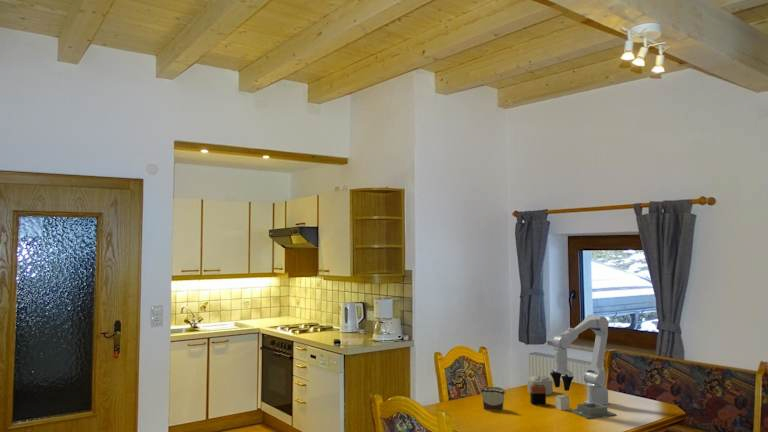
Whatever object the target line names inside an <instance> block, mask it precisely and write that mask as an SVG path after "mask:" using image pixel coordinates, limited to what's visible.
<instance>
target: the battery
mask: <svg viewBox="0 0 768 432" xmlns="http://www.w3.org/2000/svg"><path fill="white" fill-rule="evenodd" d="M529 394H530V403H531V405H533V406H538V405H540V406H541V405H542V406H543V405H547V398H546V397H547V396H546V387H545V386H544V385H543V384H542V383H539V385H536V384H533V385H530V393H529Z"/></svg>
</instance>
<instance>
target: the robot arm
mask: <svg viewBox="0 0 768 432" xmlns="http://www.w3.org/2000/svg"><path fill="white" fill-rule="evenodd" d="M609 325H610V321H609V320H608V319H607V317H606V316H604V315H601V316H600V315H593V314H588V315H587V316H586V317H584V319H583V320H582V321H581V322H580V323H579V324H578V325H577V326H575V327H574V328H573V327H568V328H567V329H566V330H565V331H564V332H562V333H560V335H555V336H554V338H553V339H552V342H551V344H552V346H553V350H554V360H555V361H554V363H555V366H552V367H551V369H550V370H551V371H550V373H549V374H550V376H551V379H552V382H553V385H554V387H555V388H560V387H561V379H562V382H563V389H564V391H567V392H568V391H570V389H571V388H570V387H571V384H572V382H573V380H574V376H573V371H570V370H568V348H569V347H570V344H571V343H573V342H574V341H575V340H576V339H578V338H579V334H581V333H583V332H584V331H586V330H587V329H591V331H593V333H594V335H595V340H594V345H593V350H592V355H591V361H590V362H591V363H590V365H588V366H587V367H586V369H585V372H584V374H583V381H584V382H585V383H586V385H587V400H584V401H583V402H584V403H593V402H595V403H598V404H601V405H603V406H606V405H610V403H609V390H608V388H607V386H606V385H605V384H606V380H607V378H606V371H605V370H604V368H603V364H604V360H605V359H604V358H605V353H606V352H605V351H606V347H607V341H608V335H609V332H608V331H609V330H608V329H609Z"/></svg>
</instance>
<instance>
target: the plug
mask: <svg viewBox="0 0 768 432" xmlns="http://www.w3.org/2000/svg"><path fill="white" fill-rule="evenodd" d="M555 409H557V410H559V411H565V410H566V409H567V410H571V409H570V396H568V395H565V394H561V395H555ZM567 410H566V411H567Z"/></svg>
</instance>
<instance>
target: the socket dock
mask: <svg viewBox="0 0 768 432" xmlns="http://www.w3.org/2000/svg"><path fill="white" fill-rule="evenodd" d="M568 412H570V413H572V414H575V415H578V416H580V417H583V418H585V419H587V420H590V419H596V418H605V417H615V416H617V414H616V413H614V412H612V411H609V410H608V406H606V405H601V404H598V403H595V402H593V403H585V402H584V403H578V404H577V407H576V408H575V409H568Z"/></svg>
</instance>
